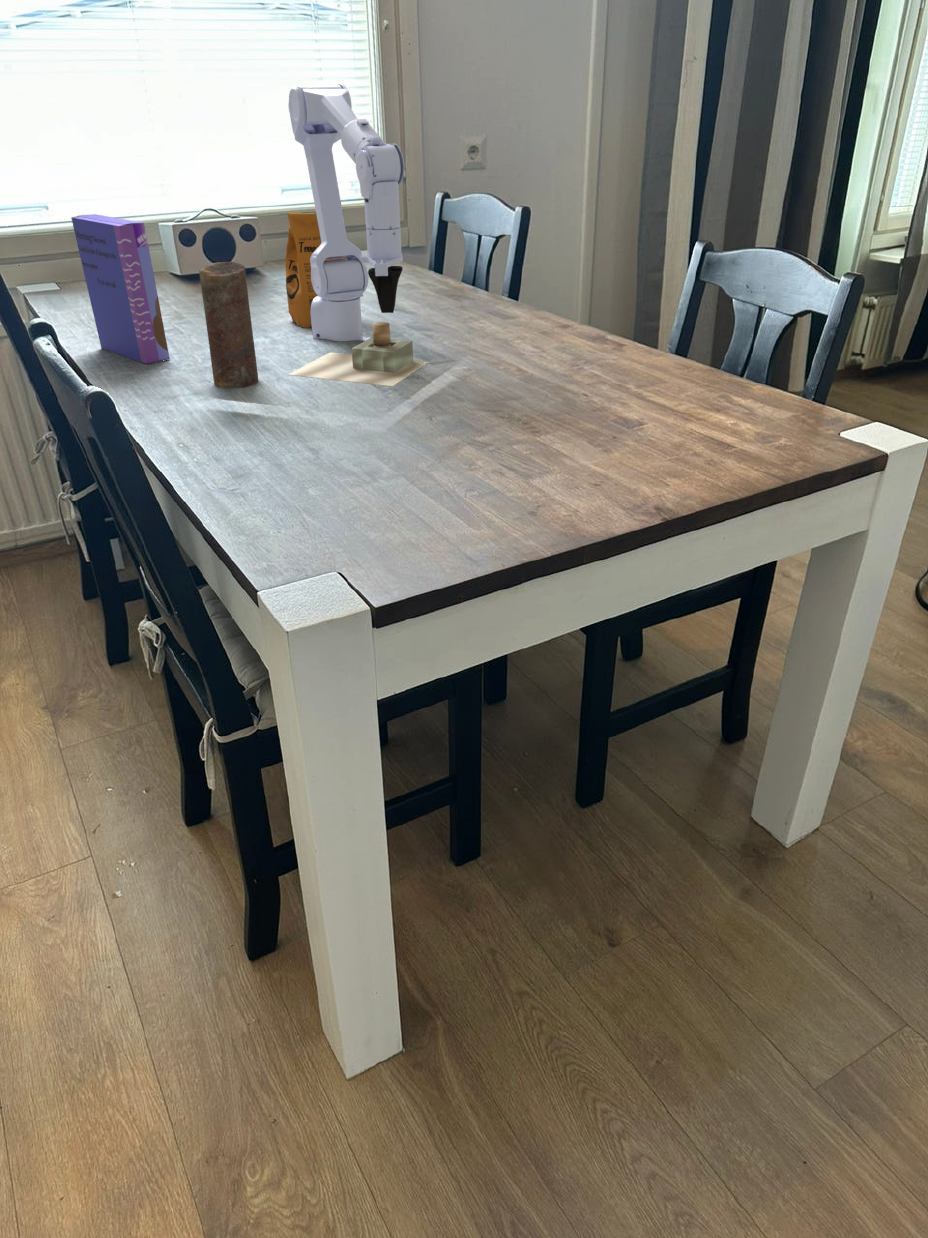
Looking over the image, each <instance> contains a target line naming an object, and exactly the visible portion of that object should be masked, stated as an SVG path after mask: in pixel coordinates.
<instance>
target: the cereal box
mask: <svg viewBox="0 0 928 1238" xmlns="http://www.w3.org/2000/svg"><path fill="white" fill-rule="evenodd" d="M70 219H71V223H72V227H73V232H74V236H75V239H76V240H75V241H76V244H77V249H78V251H79V252H78V253H79V257H80V262H81V265H82V267H81V268H82V269H83V271H82V272H83V274H84V279H85V283H86V286H87V287H86V288H87V293H88V297H89V300H90V301H89V302H90V305H91V310H92V314H93V317H94V322H95V327H96V330H97V336H98V340H99V344H100V348H101V350H103V351H107V352H110V353H113V354H115V355H118V356H121V357H124V358H127V359H129V360H133V361H134V362H138V363H140V364H143V365H146V366H148V364H149V365H153V364H156V363H155V362H158V361H162V362H164V361H163V360H166V359H170V352H169V349H168V343H167V337H166V332H165V326H164V322H163V318H162V317H163V315H162V312H161V305H160V300H159V295H158V289H157V285H156V279H155V275H154V269H153V264H152V263H153V262H152V259H151V258H152V257H151V252H150V247H149V242H148V238H147V237H148V236H147V232H146V225H145V223H144V222H141V221H135V220H130V219H123V218H119V217H118V218H117V217H113V216H108V215H102V214H93V213H92V214H80V215H76V216H72V217H71V218H70ZM166 361H167V360H166ZM152 363H153V364H152ZM158 363H159V362H158Z"/></svg>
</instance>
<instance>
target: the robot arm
mask: <svg viewBox="0 0 928 1238" xmlns="http://www.w3.org/2000/svg"><path fill="white" fill-rule="evenodd" d="M349 91H350V90H348V88H347V87H346V85H345V84H343V83H338V84H309V85H308V84H304V85H303V84H293V85H292V87H291V88H290V90H289V94H288V113H289V118H290V123H291V128H292V133H293V136H294V140H295V141H296V142H297V143H299V144H301V145H302V146H303V151H304V154H305V159H306V164H307V169H308V175H309V179H310V180H309V181H310V187H311V191H312V197H313V201H314V202H313V204H314V208H315V213H316V214H317V220H318V225H319V231H320V236H321V242H322V243H321V245H320V246H319V247H318V248H317V249H316V250H315V251H314V253H313V254H312V256H311V258H310V264H311V281H312V286H313V289H314V291H315V293H316V294H317V295H318V296H316V297H315V298H314V299H313V301H312V304H311V323H312V327H311V331H312V332H311V333H312V338H313V339H319V340H320V339H322V340H329V341H333V342H334V341H335V342H351V341H363V342H364V341H366V340H368V339H370V338H371V337H370V336H363V322H362V309H361V308H362V307H361V298H362V297H364V293H365V292H366V290H367V288H368V286H369V279H370V280H371V282H372V284H373V287H374V289H375V293H376V297H377V301H378V305H379V309H380V312H381V313H382V314H385V313H386V314H393V313H395V312H394V311H395V309H396V308H395V307H396V301H397V300H396V299H397V290H398V285H399V280H400V277H401V275H402V273H403V266H402V265H397V264H399V263H400V262H401V263H402V262H403V261H404V258H403V257H404V256H403V253H402V235H401V234H402V233H401V215H400V214H401V213H400V212H401V210H400V209H401V207H400V192H399V191H400V187H399V185H400V184H401V183H402V182H403V180H404V178H405V160H404V159H405V158H404V156H403V152H402V150H401V148H400V147H399V145H398V144H397V143H385V142H384V140H383V138H382V137H381V136H380V135H379V134H378V132H376V130H375V129H374V127H373V126H372V125H371V124H370V122H369V121H368V120H367V119H366V118H360V119H359V118H357V116H356V114H355V113H354V111H353V109H352V108H353V107H352V97H351V94H350V92H349ZM339 141H340V142H341V146H342V148H343V149H344V151H345V152H346V153H347V155H348V156H349V158H351V160H352V162H353V163H354V164H355V171H356V176H357V180H358V182H359V189H360V191H359V192H360V197H362V198H363V199H364V203H363V204H364V217H365V232H366V233H365V234H366V249H367V254H363V253H362V250H361V249H360V248H359V247H357V245H355V244H354V243H352V242H350V241H349V240H348V236H347V230H346V224H345V217H344V214H343V207H342V201H341V195H340V194H341V193H340V189H339V184H338V178H337V173H336V166H335V161H334V155H333V145H334V144H335V143H337V142H339ZM342 258H344V259H346V260H339V261H330V262H324V260H332V259H342ZM365 262H367V263H369V264H370V265H372V266H373V267H370V268H369V269H368V268H367V265H366V263H365Z"/></svg>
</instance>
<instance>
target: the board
mask: <svg viewBox="0 0 928 1238" xmlns="http://www.w3.org/2000/svg"><path fill="white" fill-rule="evenodd" d="M390 341H391V347H389V348H378V347H374V343H373V336H372V337H370V339H368V340H366V341H364V340H363V341H362V342H361V343H359V344H357V345H355V346H353V347H351V354H350V353H339V352H331V351H330V352H328V353H326V354H324V355H322V356H320V357H318V358H316V359H314V360H313V361H311V362H308V363H307V364H305V365H303V366H301V367H299V368H298V369H296V370H293V371H292V372H290V373H288V374H287V375H288V376H296V377H303V378H304V377H305V378H314V379H322V380H333V381H341V382H350V383H358V384H365V385H366V384H369V385H375V386H385V387H394V386H396V385H397V384H398V383H400V382H402V381H403V380H405V379H406V378H408V377H409V376H411V375H412V374H413V373H415V372H416V371H418V370H420V369H421V368H422V367H424V366H425V365H427V364H429V361H420V360H414V347H413V340H409V339H408V340H405V339H395V338H390Z"/></svg>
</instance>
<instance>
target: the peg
mask: <svg viewBox="0 0 928 1238" xmlns="http://www.w3.org/2000/svg"><path fill="white" fill-rule="evenodd" d="M371 325H372V337H373V343H374V347H378V348H389V347H391V341H390V339H391V326H390V325H391V324H390V323H389V322H386V321H385V322H384V321H378V322H377V321H376V322H373V323H372V324H371Z"/></svg>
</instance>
